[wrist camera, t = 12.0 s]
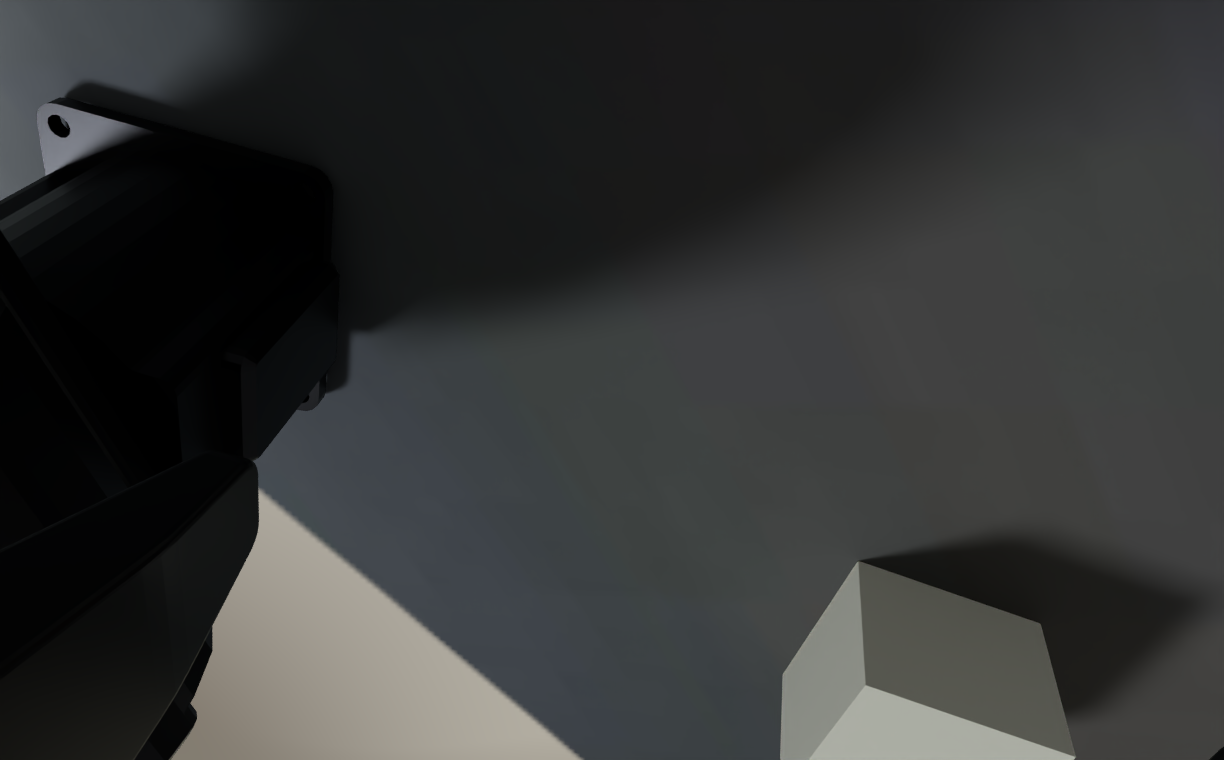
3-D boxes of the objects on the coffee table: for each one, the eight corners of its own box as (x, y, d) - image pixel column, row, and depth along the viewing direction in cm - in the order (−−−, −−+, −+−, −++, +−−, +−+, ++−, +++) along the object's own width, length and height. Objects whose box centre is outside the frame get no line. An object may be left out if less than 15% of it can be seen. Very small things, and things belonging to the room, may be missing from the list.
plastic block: (783, 670, 27) (779, 798, 23) (858, 557, 24) (865, 684, 20) (945, 726, 27) (964, 860, 23) (1039, 619, 24) (1075, 756, 21)
